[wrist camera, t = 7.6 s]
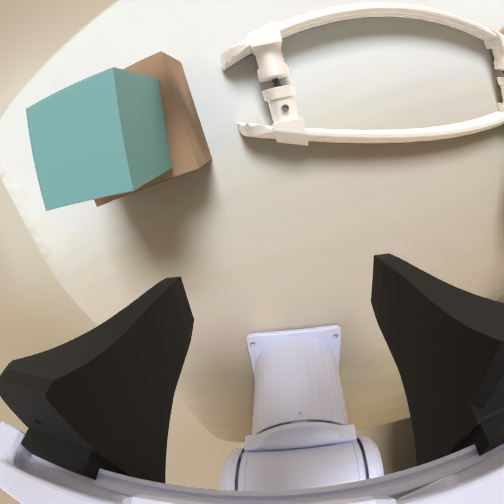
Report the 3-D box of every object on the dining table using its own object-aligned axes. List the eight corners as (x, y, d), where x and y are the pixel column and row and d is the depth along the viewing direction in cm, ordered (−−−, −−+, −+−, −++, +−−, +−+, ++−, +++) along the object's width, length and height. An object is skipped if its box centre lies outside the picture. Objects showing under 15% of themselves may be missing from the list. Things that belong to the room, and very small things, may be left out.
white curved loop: (525, 132, 15) (250, 167, 19) (504, 28, 11) (212, 31, 15) (544, 138, 13) (247, 176, 16) (523, 25, 9) (204, 19, 12)
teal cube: (172, 167, 15) (133, 190, 10) (97, 183, 15) (46, 210, 11) (158, 79, 13) (113, 67, 8) (83, 104, 13) (25, 109, 9)
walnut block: (212, 158, 19) (199, 168, 15) (124, 189, 20) (97, 206, 16) (181, 62, 16) (161, 51, 12) (95, 104, 17) (63, 105, 13)
